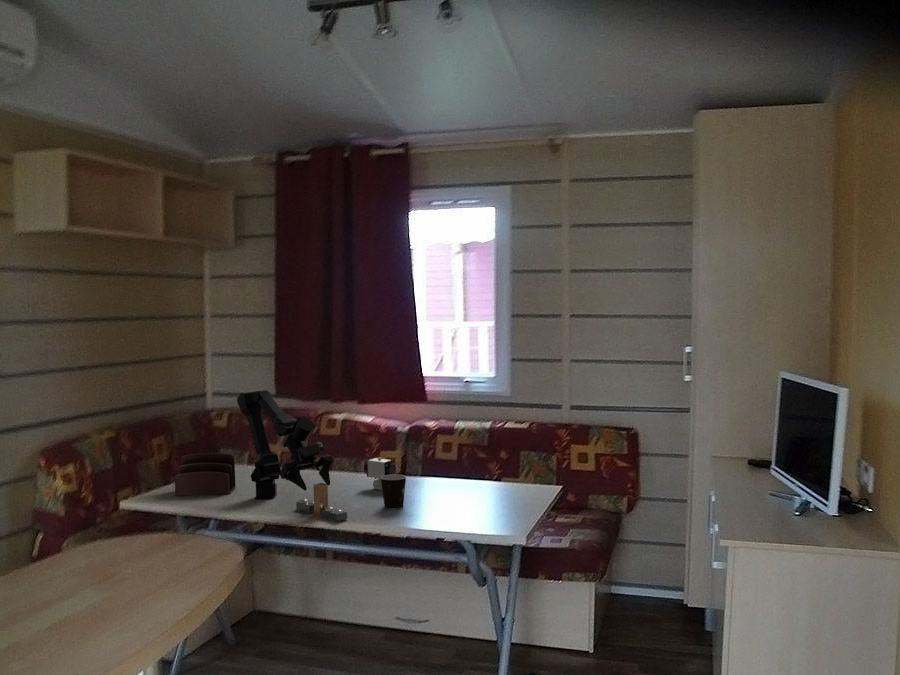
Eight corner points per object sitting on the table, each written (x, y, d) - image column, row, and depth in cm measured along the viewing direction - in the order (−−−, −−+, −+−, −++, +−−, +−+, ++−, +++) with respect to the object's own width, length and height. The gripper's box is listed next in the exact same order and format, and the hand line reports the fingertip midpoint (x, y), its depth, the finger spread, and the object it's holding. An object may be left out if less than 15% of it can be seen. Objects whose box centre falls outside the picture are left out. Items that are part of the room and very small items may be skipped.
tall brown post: (314, 514, 259) (313, 484, 258) (322, 512, 261) (321, 482, 261) (320, 516, 256) (319, 486, 256) (328, 514, 259) (327, 484, 258)
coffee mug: (392, 501, 274) (391, 473, 273) (411, 505, 269) (411, 476, 268) (370, 509, 264) (369, 479, 264) (389, 513, 259) (389, 482, 259)
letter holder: (182, 490, 297) (181, 453, 296) (236, 488, 298) (234, 451, 297) (174, 496, 287) (173, 458, 286) (229, 495, 288) (228, 457, 287)
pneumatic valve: (389, 492, 287) (388, 459, 287) (363, 488, 294) (363, 456, 293) (398, 489, 292) (397, 457, 292) (372, 485, 298) (372, 454, 298)
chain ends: (296, 509, 266) (296, 500, 265) (306, 507, 268) (306, 497, 268) (336, 522, 249) (336, 512, 249) (347, 519, 252) (346, 510, 252)
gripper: (283, 438, 256) (303, 477, 248) (330, 431, 269) (350, 468, 261) (271, 459, 262) (289, 497, 255) (317, 451, 275) (337, 487, 268)
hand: (317, 487), depth 259 cm, fingers open, 9 cm apart
